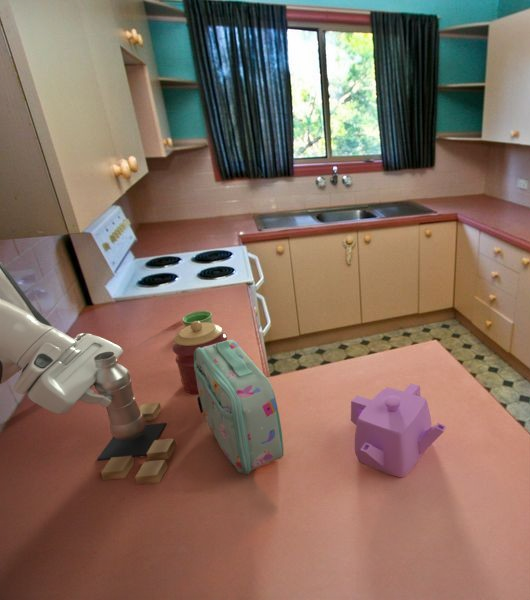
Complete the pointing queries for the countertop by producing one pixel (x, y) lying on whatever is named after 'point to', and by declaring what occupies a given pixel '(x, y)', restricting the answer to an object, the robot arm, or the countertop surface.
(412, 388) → the teakettle
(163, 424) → the mat
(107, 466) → the tile
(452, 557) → the countertop surface
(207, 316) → the ramekin
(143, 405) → the back tile
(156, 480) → the front tile
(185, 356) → the kitchen canister
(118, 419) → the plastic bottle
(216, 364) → the lunch box
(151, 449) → the tile
